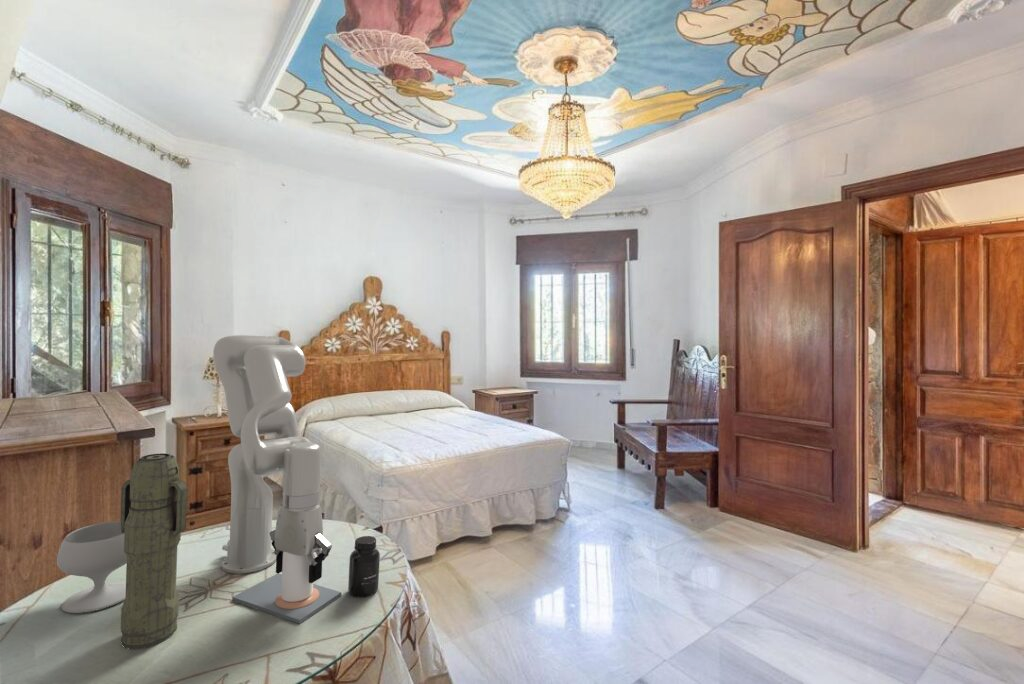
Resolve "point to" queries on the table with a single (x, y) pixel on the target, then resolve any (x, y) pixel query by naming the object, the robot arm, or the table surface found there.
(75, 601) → the chalice
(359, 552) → the supplement bottle
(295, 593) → the can
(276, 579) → the card
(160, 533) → the thermos
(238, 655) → the table surface
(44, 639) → the table surface
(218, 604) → the table surface
